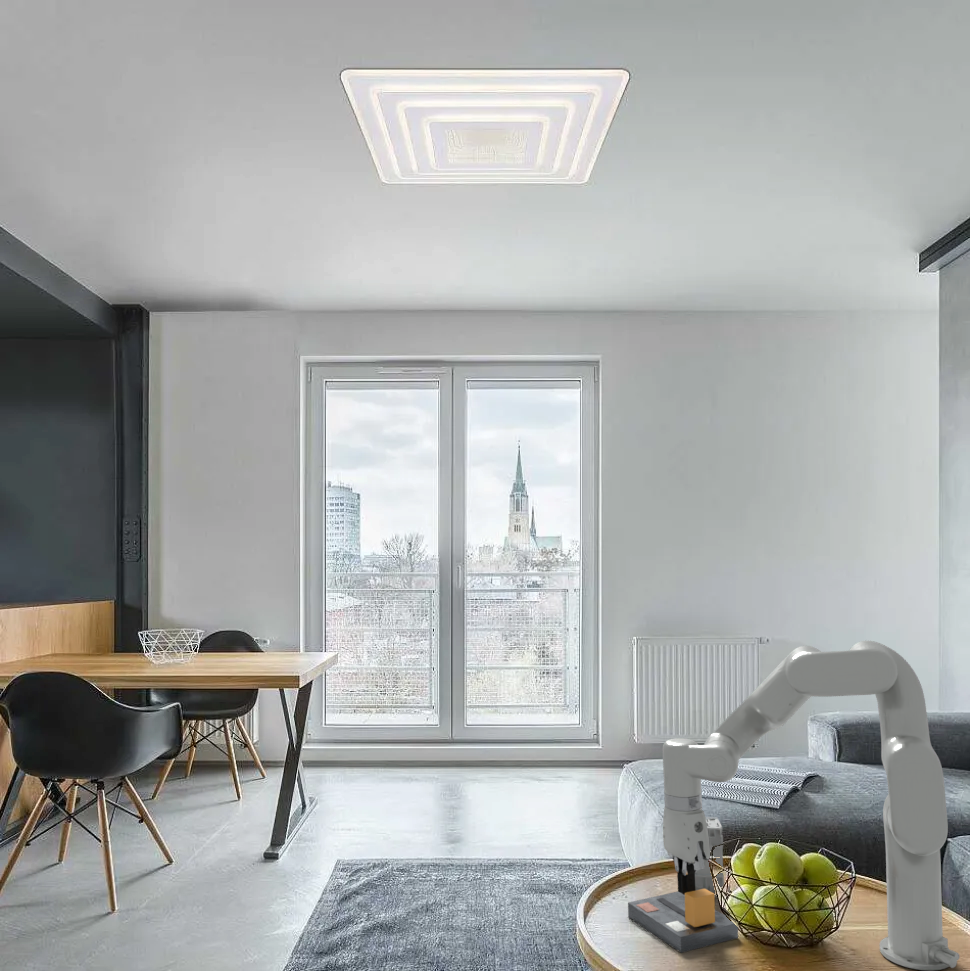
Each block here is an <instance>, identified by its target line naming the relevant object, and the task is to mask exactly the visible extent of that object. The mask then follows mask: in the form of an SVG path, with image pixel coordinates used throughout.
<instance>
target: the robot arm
mask: <svg viewBox="0 0 970 971" xmlns="http://www.w3.org/2000/svg"><path fill="white" fill-rule="evenodd" d="M924 694H925V693H924V690H923V687H922V683H921V682H920V680H919V677H918V676H917V674H916V672H915V670H914V669H913V667H912V666H911V664H909V662H908V661H907V660H906V659H905V658H904V657H903V656H902V655H901V654H900V653H898V652H897V651H896V650H893V649H892V648H891V647H889V646H886V645H885V644H882V643H880V642H877V641H873V640H861V641H858V642H857V643H856V642H855V643H854V644H853V645H852V646H851V647H850V648H849V650H836V651H821V650H820V649H819V648H816V647H815V646H814V647H813V646H810V645H801V646H798V647H796V648H794V649H793V650H792V651H790V653H788V654H787V656H785V658H783V659H782V660H781V662H780V663H779V664H778V665H777V666H776V667H775V668H774V669H773V670H772V671H771V672H770V673H769V674H768V675H767V677H766V678H764V680H763V681H762V682H761V683H760V684H759V685H758V686H757V687H756V688H755V689H754V690H752V692H751V693H750V694H749V695H748V696H747V697H746V698H745V699H744V700H743V702H742V703H741V704H739V705H738V706H737V707H736V708H735V709H734V711H733V712H731V713H730V714H729V715H728V716H727V717H726V718H725V719H724V720H723V721H722V722H721V723H720V724H719V726H718V727H717V728H716V729H715V730H714V731H713V732H712V733H711V734H710V735H709V736H708V737H707V738H706V740H705V742H704V743H703V744H702V745H700V744H698V742H696V741H695V740H693V739H690V738H684V737H683V738H682V737H680V738H679V737H677V738H670V739H668V740H665V741H664V743H662V744H663V745H662V769H663V770H662V772H663V773H662V774H663V793H664V794H663V797H664V808H663V817H662V820H663V821H662V840H663V847H664V849H665V851H666V852H667V855H668V856H669V857H670V858H671V859H672V861H673V862H674V869H675V871H676V872H677V873H676V874H677V891H678V892H680V893H682V894H683V895H685V893H687V892H691V891H695V873H696V872H697V870H698V871H699V870H703V869H704V862H703V859H704V860H709V858H710V846H709V836H708V828H707V822H706V817H707V816H706V814H705V811H704V810H703V802H702V801H703V796H702V795H703V794H702V780H704V781H710V782H715V783H725V782H728V781H731V780H732V779H733V778H734V777H735V776H736V774H737V772H738V769H739V762H740V760H741V758H742V757H743V756H744V755H745V754H746V753H747V752H748V751H749V749H751V748H752V746H753V745H754V744H755V743H756V742H758V741H759V740H760V739H761V738H763V737H764V736H765V735H766V734H768V733H769V732H773V731H775V730H778V729H780V728H782V727H783V726H784V725H786V723H787V722H789V720H790V719H791V718H792V717H793V716H794V715H795V714H796V713H797V712H798V711H799V710H800V709H801V708H802V707H803V706H804V705H805V704H806V703H807V701H809V700H810V699H811V698H812V697H813V698H814V697H815V698H818V697H821V698H824V697H825V698H826V697H827V698H828V697H829V698H830V697H850V696H851V697H853V696H871V695H875V698H876V702H877V708H878V717H879V725H880V727H879V728H880V740H881V745H880V746H881V749H880V750H881V752H880V754H881V755H880V756H881V763H882V765H883V768H884V770H885V773H886V782H887V791H888V792H887V793H888V794H887V795H886V797H885V799H884V803H883V808H882V809H883V810H882V813H883V814H882V816H883V817H882V818H883V828H884V842H885V863H886V864H885V866H886V868H885V872H886V904H887V905H886V909H887V910H886V911H887V912H886V913H887V915H886V916H887V936H886V937H884V938H883V939H881V940H880V941H879V951H880V953H881V954H882V956H883V957H885V958H886V960H888V961H889V962H890V961H891V962H892V963H894V964H897V965H899V966H902V967H905V968H909V969H912V970H919V971H940V970H945V969H947V968H949V967H950V968H951V969H954V968H956V966H957V964H958V961H959V959H960V953H959V952H956V951H954V950H952V949H949V940H948V938H947V937H944V936H943V935H944V934H943V933H944V932H943V908H942V907H943V906H942V905H943V904H942V902H943V901H942V864H941V861H942V860H941V849H942V847H943V846H944V844H945V843H946V841H947V837H948V831H949V830H948V829H949V828H948V813H947V799H946V789H945V779H944V777H945V776H944V771H943V768H942V763H941V760H940V758H939V756H938V755H937V753H936V751H935V750H934V748H933V746H932V743H931V738H930V737H931V736H930V730H929V719H928V714H927V706H926V698H925V695H924ZM689 863H691V864H689Z"/></svg>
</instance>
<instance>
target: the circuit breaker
mask: <svg viewBox="0 0 970 971" xmlns="http://www.w3.org/2000/svg"><path fill="white" fill-rule="evenodd" d="M705 817H706V822H707V828H708V836H709V846H710V851H711V849H712V847H713V846H715V845H719V844H723V845H720V846H717V847H715V849H714V850H713V856H714V857H720V858H716V860H715V861H716V862H717V863H718V864H720V865H721V866H722V867H723V868H724V857H723V855H724V854H723V849H724V835H723V826H722V824H721V822H720V820H719V817H718V816H705ZM703 862H704V869H703V870H699V871H698V870H697V872H696V873H695V891H696V890H700V889H704V888H705V889H707V890H709V891H710V892H712V893H714V894H715V890H714V886H713V881H712V876H711V873H710V867H709V862H708V860H704V859H703ZM689 864H691V863H689ZM716 878H717V881H718V884H719V886H720V887H722V886H723V884H724V885H725V881H724V880H725V879H724V878H725V876H724V872H723V873H720V874H717V876H716ZM714 896H716V895H714Z"/></svg>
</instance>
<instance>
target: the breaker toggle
mask: <svg viewBox="0 0 970 971" xmlns="http://www.w3.org/2000/svg"><path fill="white" fill-rule="evenodd" d="M715 898H716V897H715V896H714V893H712V892H710V891H709V890H707V889H705V888H704V889H700V890H696V891H691V892H687V893H685V922H687V923H689V924H690V925H692V926H693V927H698V926H702V925H706V924H710V923H714V922H715V910H716V909H715V908H716V906H715V905H716V904H715Z"/></svg>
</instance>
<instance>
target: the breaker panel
mask: <svg viewBox="0 0 970 971" xmlns="http://www.w3.org/2000/svg"><path fill="white" fill-rule="evenodd" d="M627 910H628V912H627V913H628V914H627V915H628V917H627V918H629V917H630V918H629V919H631V920H632V919H633V920H634V922H635V923H636V922H637V923H636V924H638V925H639V924H640V925H639V926H641V927H642V928H644V929H645V930H646V931H649V933H651V934H653V935H654V936H655V937H656V938H659V939H660V940H661V941H662V942H665V944H667V945H669V946H670V947H672V948H673V949H675V950H676V951H677V952H678V953H681V954H682V953H685V952H689V951H693V950H697V949H701V948H705V947H708V946H709V947H710V946H712V945H716V944H721V943H724V942H727V941H728V942H729V941H732V940H735V939H738V938H739V926H738V927H737V926H736V925H735V924H734V923H733V922H732V921H730V920H729V919H728V918H727V917H728V916H727V915H726V914H723V913H722V912H720V911H718V910H717V909H715V922H714V923H710V924H706V925H702V926H698V927H693V926H692V925H690V924H689V923H687V922H685V895H683V894H682V893H680V892H678V890H677V891H673V892H670V893H665V894H661V895H656V896H651V897H647V898H642V899H638V900H634V901H630V902H629V901H628V902H627ZM726 916H727V917H726ZM633 920H632V921H633Z"/></svg>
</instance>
